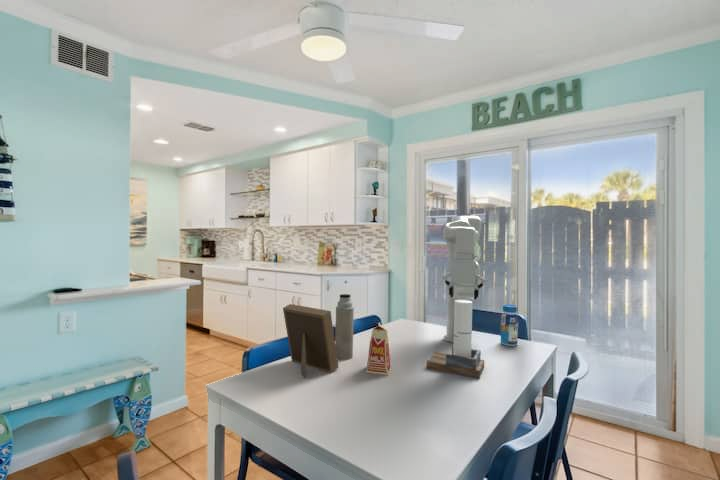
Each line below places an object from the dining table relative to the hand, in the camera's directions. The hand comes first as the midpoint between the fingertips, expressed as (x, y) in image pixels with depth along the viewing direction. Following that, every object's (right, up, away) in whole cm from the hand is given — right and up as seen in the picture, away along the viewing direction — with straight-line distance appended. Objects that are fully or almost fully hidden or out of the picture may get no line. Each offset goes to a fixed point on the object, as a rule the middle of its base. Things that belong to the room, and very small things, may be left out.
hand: (463, 297), depth 150 cm
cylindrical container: (-1, -27, 0) cm, 27 cm away
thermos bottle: (-50, -29, +12) cm, 59 cm away
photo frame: (-65, -29, -4) cm, 71 cm away
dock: (-3, -30, +1) cm, 30 cm away
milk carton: (-36, -29, -3) cm, 46 cm away
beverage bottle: (+34, -30, +37) cm, 59 cm away
